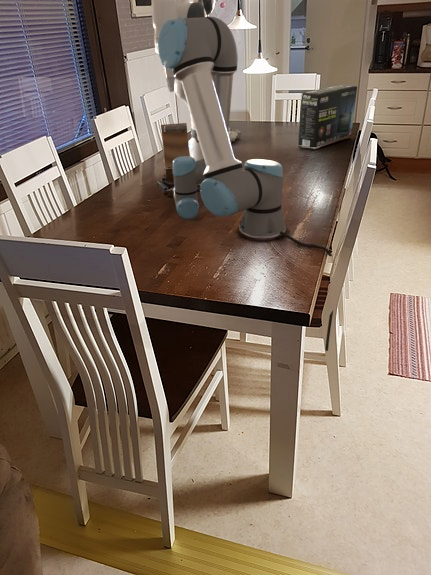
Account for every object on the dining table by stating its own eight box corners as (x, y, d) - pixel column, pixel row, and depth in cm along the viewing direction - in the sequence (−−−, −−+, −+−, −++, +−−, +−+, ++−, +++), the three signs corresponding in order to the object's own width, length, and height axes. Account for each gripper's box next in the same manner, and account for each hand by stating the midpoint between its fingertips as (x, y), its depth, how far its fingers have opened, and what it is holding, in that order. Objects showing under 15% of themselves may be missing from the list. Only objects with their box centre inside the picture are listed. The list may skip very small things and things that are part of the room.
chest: (165, 184, 195) (162, 158, 189) (188, 182, 196) (186, 156, 190) (168, 196, 182) (165, 169, 176) (192, 194, 183) (190, 166, 178)
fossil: (231, 138, 245) (212, 120, 248) (221, 154, 251) (202, 137, 255) (247, 136, 258) (229, 120, 262) (237, 152, 265) (220, 136, 268)
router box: (314, 151, 231) (318, 94, 217) (296, 148, 237) (299, 92, 224) (352, 138, 251) (358, 85, 238) (335, 135, 258) (340, 83, 245)
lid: (160, 125, 175) (161, 119, 166) (186, 123, 176) (188, 117, 167) (165, 167, 177) (166, 164, 168) (190, 165, 178) (192, 162, 169)
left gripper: (157, 46, 168) (160, 86, 175) (160, 49, 151) (164, 94, 158) (174, 45, 169) (177, 85, 176) (179, 48, 151) (182, 93, 158)
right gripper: (153, 208, 164) (151, 188, 183) (215, 202, 167) (206, 183, 186) (151, 187, 160) (148, 169, 179) (214, 182, 163) (205, 164, 182)
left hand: (171, 90), depth 167 cm, fingers open, 6 cm apart
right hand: (178, 176), depth 182 cm, fingers closed on chest, 10 cm apart
